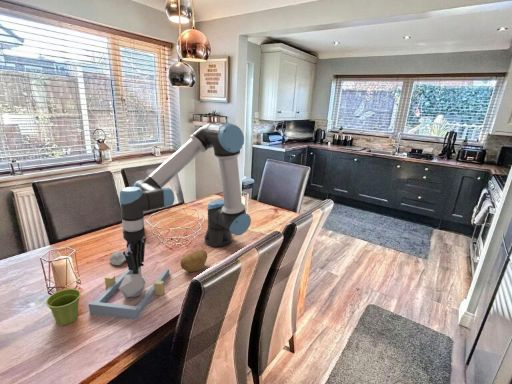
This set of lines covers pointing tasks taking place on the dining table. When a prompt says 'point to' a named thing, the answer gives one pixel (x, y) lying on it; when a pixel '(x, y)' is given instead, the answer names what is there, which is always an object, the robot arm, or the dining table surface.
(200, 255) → the potato
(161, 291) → the beam track
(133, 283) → the faceted grey rock
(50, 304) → the plant pot
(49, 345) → the dining table surface
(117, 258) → the grey stone
